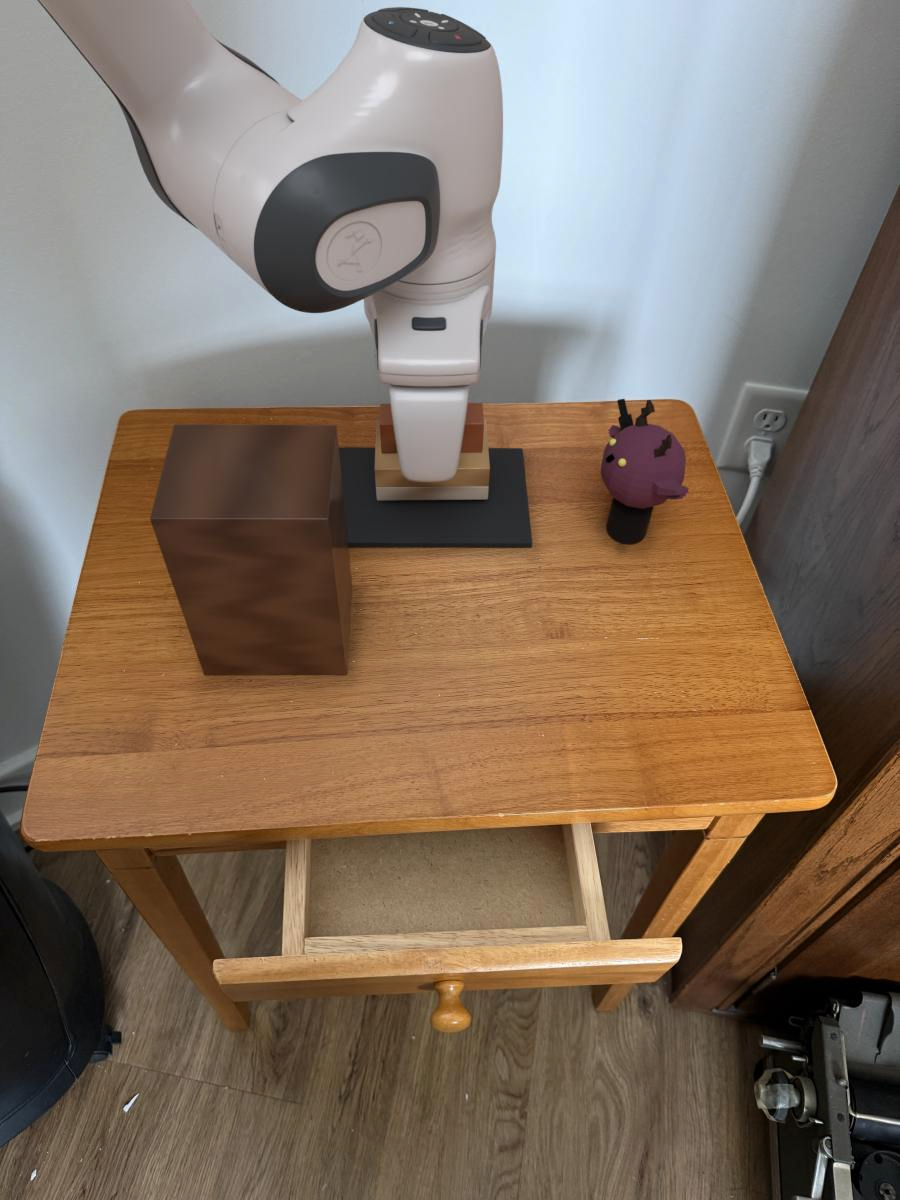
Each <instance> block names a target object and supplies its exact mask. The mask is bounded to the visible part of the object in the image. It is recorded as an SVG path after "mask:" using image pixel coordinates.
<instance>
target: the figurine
mask: <svg viewBox="0 0 900 1200" xmlns="http://www.w3.org/2000/svg"><path fill="white" fill-rule="evenodd" d="M616 403H617V406H618V411H619V417H618V419H617V420H618V424H619V426H618V425H615V424H612V425H611V426H610V427H609V429H608V434H609V435H608V436H609V437H610V438H611V439H610V440H608V442H607V444H605V447H604V451H603V454H602V460H601V466H600V476H601V479H602V482H603V483H604V485H605V487H606V489H607V491H608V492H609V494H610V496H611V497H612V500H611V504H610V508H609V513H608V517H607V520H606V524H605V525H606V526H605V529H606V533H607V535H608V536H609V538H611V539H612V540H613V541H615V542H616V543H619V544H622V545H635V544H638V543H640V542H642V541H643V540H644V539H645V538H646V536H647V531H648V528H649V525H650V522H651V518H652V515H653V511H654V507H657V506H660V505H662V504H664V503H665V502H666V501H668V500H682V499H684V497H687V494H689V489H690V488H689V487H687V486H685V485H683V482H684V480H685V474H686V464H687V457H686V451H685V449H684V447H683V446H682V445H681V443H680V441H679V440H678V439H677V437H676V436H675V434H674V433H673V432H671V431H669V430H668V429H666V428H664V427H662V426H661V425H658V424H651V423H648V418H647V417H648V416H649V415H650V414H652V413H655V412H656V411H655V405H654V403H653V402H652V400H651V399H647V400H646V403H645V407H641V408H640V414H639V416H637V417H636V418H635V421H634V420H633V415H632V413H630V414H629V412H628V408H627V403H626V399H625V398H620V399H617V401H616Z"/></svg>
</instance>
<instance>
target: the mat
mask: <svg viewBox="0 0 900 1200" xmlns="http://www.w3.org/2000/svg"><path fill="white" fill-rule="evenodd" d="M488 449H489V462H490V475H489V490H488V499H482V500H377V496H376V482H375V447H373V446H372V447H370V446H367V447H366V446H365V447H364V446H363V447H362V446H358V447H357V446H354V447H353V446H351V447H350V446H339V456H340V466H341V476H342V487H343V497H344V507H345V518H346V528H347V538H348V548H484V549H485V548H491V549H493V548H494V549H495V548H496V549H497V548H502V549H503V548H508V549H509V548H517V549H519V548H522V549H523V548H524V549H525V548H532V547H533V539H532V538H533V537H532V528H531V517H530V509H529V500H528V489H527V478H526V469H525V459H524V452H523V448H522V447H488Z"/></svg>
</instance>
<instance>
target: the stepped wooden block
mask: <svg viewBox="0 0 900 1200" xmlns="http://www.w3.org/2000/svg"><path fill="white" fill-rule="evenodd" d="M484 416H485V415H484V405H483V402H468V406H467V414H466V421H465V427H464V434H463V441H462V447H461V453H460V459H459V465H458V469H457V472H456V475H455V476H454V478H453V479H452V480H451V481H448V482H432V483H426V482H410V481H407V480H406V479H405V478H404V476H403V474H402V472H401V469H400V464H399V459H398V452H397V446H396V440H395V433H394V426H393V420H392V413H391V405H390V403H380V405H379V418H376V420H375V482H376V496H377V500H482V499H488V490H489V475H490V462H489V449H488V448H489V439H488V426H487V418H486V417H484Z"/></svg>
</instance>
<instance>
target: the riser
mask: <svg viewBox="0 0 900 1200" xmlns="http://www.w3.org/2000/svg"><path fill="white" fill-rule="evenodd" d="M168 442H169V443H168V446H167V451H166V453H165V454H166V455H165V457H164V461H163V466H162V469H161V472H160V478H159V482H158V485H157V488H156V492H155V496H154V500H153V505H152V508H151V513H150V516H149V521H150V523H151V526H152V530H153V532H154V535H155V538H156V540H157V543H158V547H159V549H160V552H161V555H162V558H163V561H164V564H165V567H166V569H167V573H168V575H169V578H170V581H171V583H172V586H173V588H174V592H175V595H176V598H177V601H178V604H179V607H180V609H181V612H182V614H183V618H184V621H185V624H186V627H187V629H188V632H189V635H190V638H191V641H192V644H193V647H194V650H195V653H196V655H197V658H198V661H199V665H200V667H201V671H202V673H203V675H204V676H347V675H348V664H349V663H348V662H349V648H350V647H349V646H350V631H351V630H350V628H351V615H352V599H353V597H352V596H353V582H352V581H353V579H352V572H351V571H352V569H351V561H350V550H349V549H350V548H349V547H348V538H347V528H346V518H345V507H344V497H343V487H342V476H341V466H340V456H339V447H340V446H339V436H338V427H337V425H336V424H212V423H211V424H205V423H204V424H196V423H195V424H193V423H190V424H189V423H188V424H187V423H186V424H185V423H182V424H181V423H174V424H173V427H172V431H171V434H170V438H169V441H168Z"/></svg>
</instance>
